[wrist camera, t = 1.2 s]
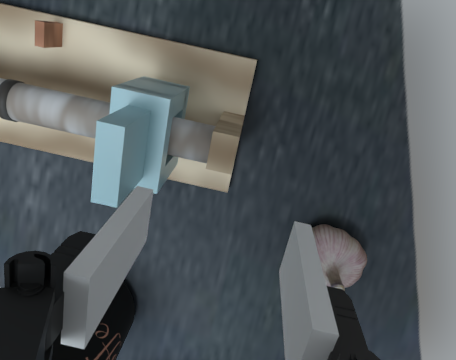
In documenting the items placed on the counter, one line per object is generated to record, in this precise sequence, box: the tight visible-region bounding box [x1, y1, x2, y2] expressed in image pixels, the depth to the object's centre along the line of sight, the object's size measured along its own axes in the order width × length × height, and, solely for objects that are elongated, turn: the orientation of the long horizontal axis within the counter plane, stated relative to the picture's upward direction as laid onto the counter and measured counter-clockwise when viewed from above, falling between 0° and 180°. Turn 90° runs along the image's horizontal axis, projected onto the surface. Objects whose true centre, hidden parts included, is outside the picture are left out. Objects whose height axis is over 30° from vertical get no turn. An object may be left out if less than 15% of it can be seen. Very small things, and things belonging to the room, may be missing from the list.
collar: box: [91, 76, 190, 208], centre depth 27 cm, size 7×4×12 cm, turn 169°
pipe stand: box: [0, 3, 257, 193], centre depth 32 cm, size 13×26×10 cm, turn 79°
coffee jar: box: [51, 282, 135, 360], centre depth 37 cm, size 11×11×18 cm
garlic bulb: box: [312, 224, 367, 291], centre depth 37 cm, size 8×7×8 cm
